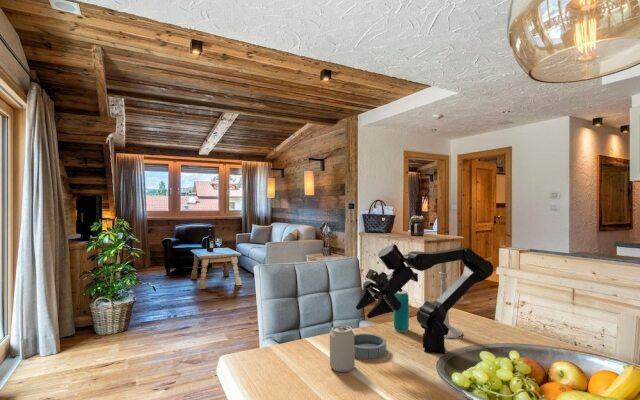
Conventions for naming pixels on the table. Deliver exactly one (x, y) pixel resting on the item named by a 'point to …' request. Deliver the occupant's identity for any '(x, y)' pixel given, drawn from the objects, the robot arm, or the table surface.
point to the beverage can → (402, 312)
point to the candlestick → (453, 330)
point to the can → (342, 348)
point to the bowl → (369, 346)
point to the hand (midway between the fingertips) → (362, 312)
